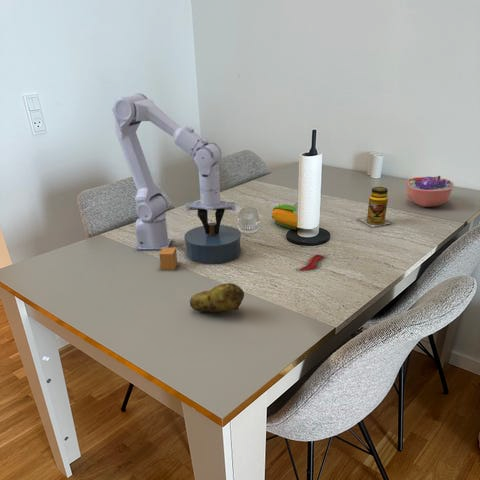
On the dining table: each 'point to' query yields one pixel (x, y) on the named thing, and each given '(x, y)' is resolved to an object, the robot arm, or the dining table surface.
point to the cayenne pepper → (312, 263)
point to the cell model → (429, 190)
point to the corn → (285, 216)
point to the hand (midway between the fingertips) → (212, 233)
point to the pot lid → (212, 236)
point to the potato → (218, 298)
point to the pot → (213, 253)
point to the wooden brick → (168, 258)
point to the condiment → (377, 207)
